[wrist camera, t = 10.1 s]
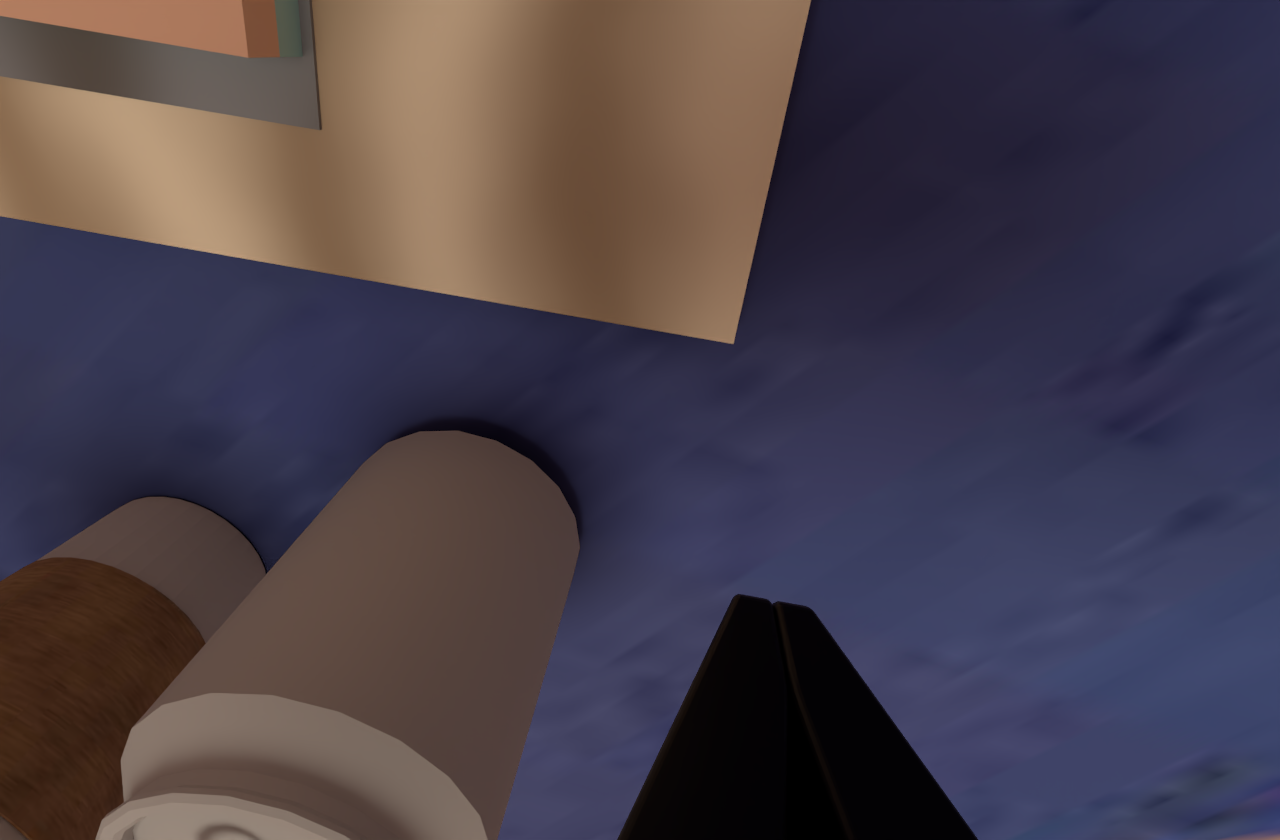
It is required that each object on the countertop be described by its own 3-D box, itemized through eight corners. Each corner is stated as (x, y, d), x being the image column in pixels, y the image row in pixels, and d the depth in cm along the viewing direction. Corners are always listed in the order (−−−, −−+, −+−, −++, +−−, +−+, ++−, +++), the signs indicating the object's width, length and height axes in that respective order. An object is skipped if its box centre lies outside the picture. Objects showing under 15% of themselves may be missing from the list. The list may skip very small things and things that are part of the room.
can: (457, 628, 25) (265, 1041, 15) (316, 475, 23) (-39, 846, 12) (628, 556, 23) (546, 990, 12) (492, 374, 20) (239, 731, 10)
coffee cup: (202, 433, 22) (-548, 989, 9) (346, 620, 26) (-49, 1220, 13) (25, 500, 25) (-779, 1022, 11) (179, 664, 28) (-303, 1211, 15)
